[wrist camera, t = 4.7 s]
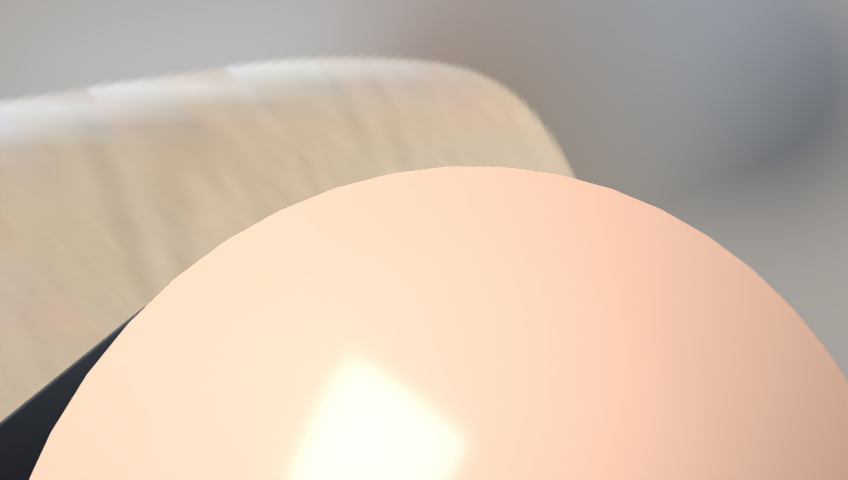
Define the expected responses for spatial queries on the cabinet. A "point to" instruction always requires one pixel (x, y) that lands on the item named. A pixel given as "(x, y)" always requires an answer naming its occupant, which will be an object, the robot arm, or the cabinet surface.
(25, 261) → the cabinet surface
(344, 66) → the cabinet surface
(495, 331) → the peach rounded peg
